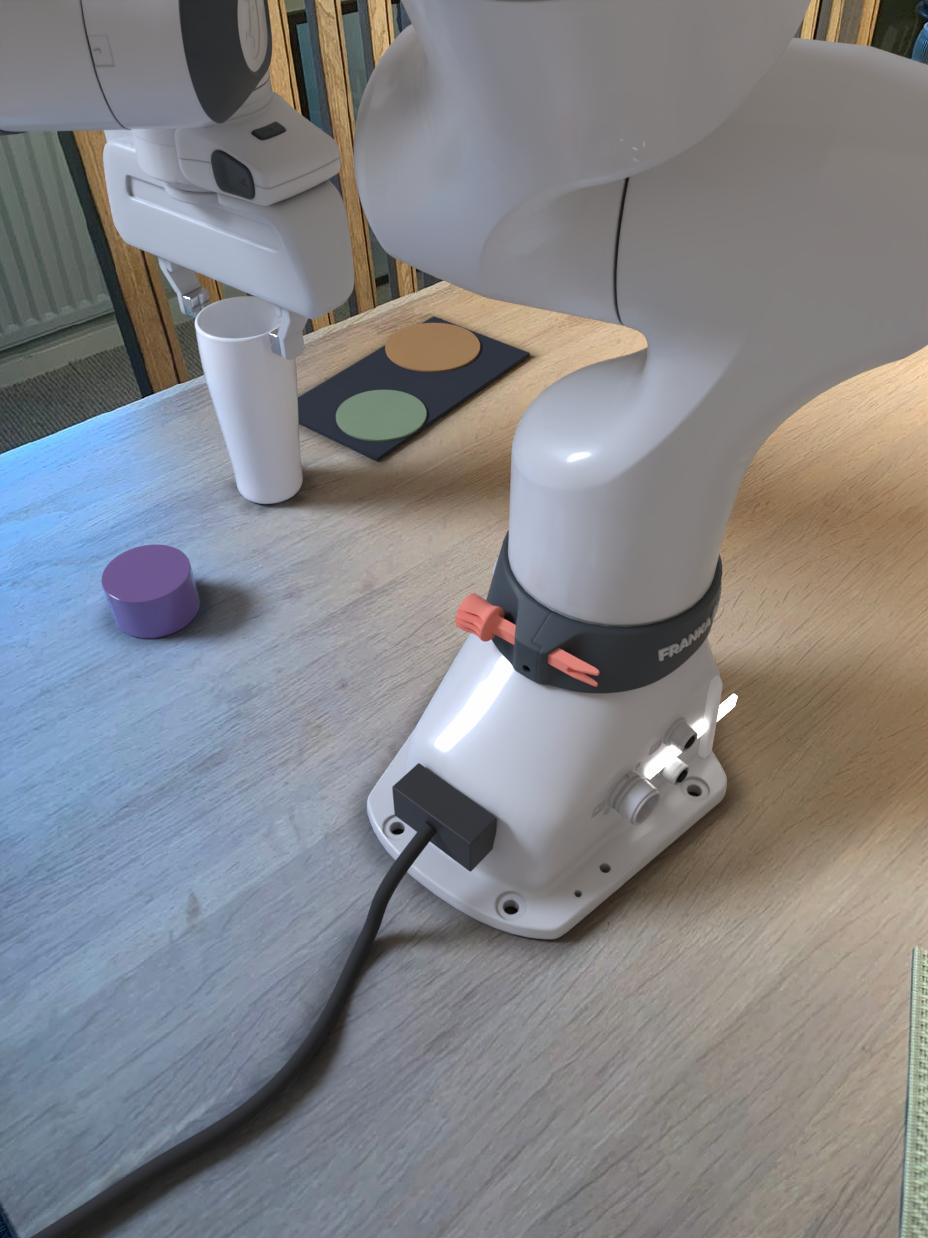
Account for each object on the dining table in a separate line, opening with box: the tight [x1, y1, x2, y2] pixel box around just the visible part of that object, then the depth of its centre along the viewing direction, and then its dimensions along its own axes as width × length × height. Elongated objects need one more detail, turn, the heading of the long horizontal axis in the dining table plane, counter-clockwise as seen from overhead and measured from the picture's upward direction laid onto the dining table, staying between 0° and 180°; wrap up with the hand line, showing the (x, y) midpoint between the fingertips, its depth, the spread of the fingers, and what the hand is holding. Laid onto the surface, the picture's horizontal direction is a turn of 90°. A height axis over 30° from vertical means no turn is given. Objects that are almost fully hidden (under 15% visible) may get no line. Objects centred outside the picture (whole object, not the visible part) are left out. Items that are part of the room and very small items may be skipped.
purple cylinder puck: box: [100, 544, 201, 639], centre depth 69 cm, size 6×6×4 cm
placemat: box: [298, 315, 531, 462], centre depth 92 cm, size 22×13×1 cm, turn 142°
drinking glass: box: [194, 295, 304, 505], centre depth 76 cm, size 7×7×15 cm
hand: (242, 333), depth 71 cm, fingers open, 8 cm apart
